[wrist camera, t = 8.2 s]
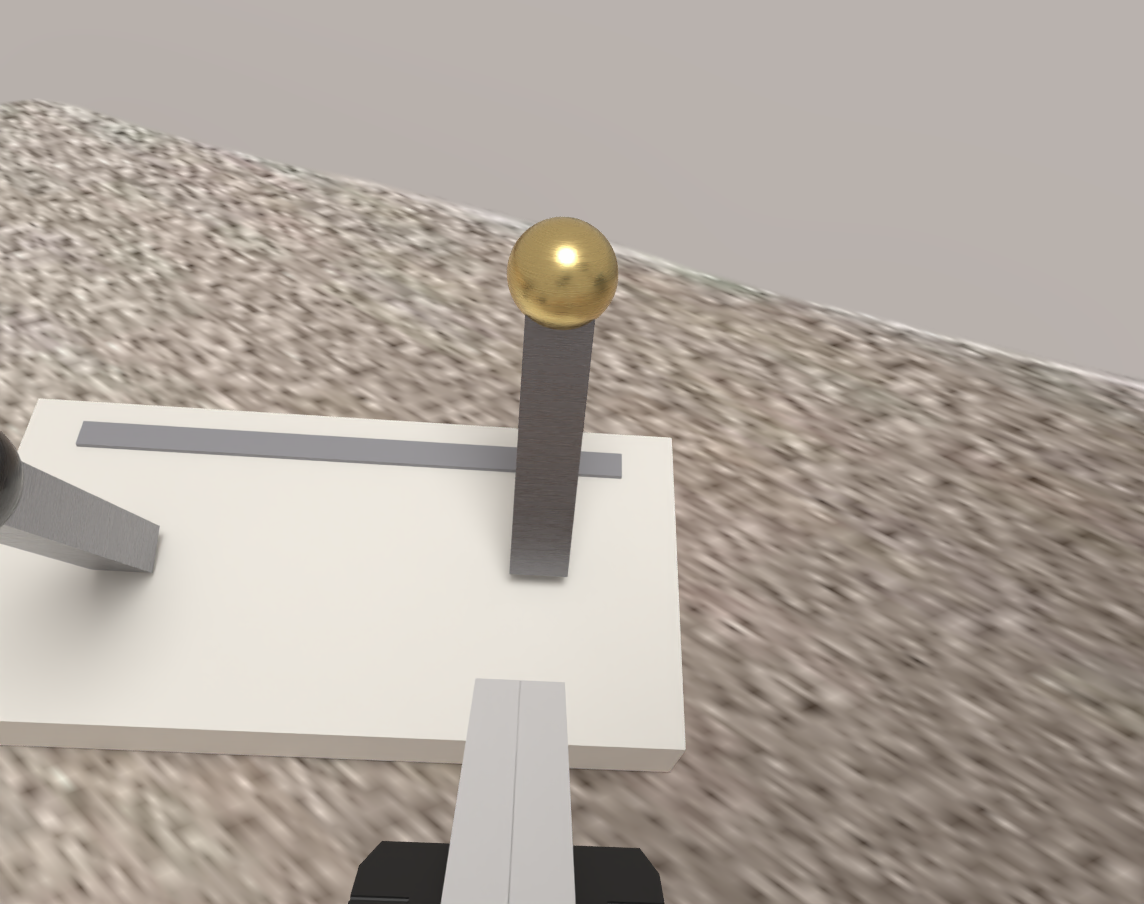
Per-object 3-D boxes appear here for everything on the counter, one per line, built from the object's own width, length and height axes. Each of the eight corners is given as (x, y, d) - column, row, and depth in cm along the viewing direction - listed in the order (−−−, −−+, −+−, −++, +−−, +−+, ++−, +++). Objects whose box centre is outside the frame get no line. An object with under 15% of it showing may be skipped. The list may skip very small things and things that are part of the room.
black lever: (167, 597, 31) (-39, 542, 19) (69, 592, 31) (-200, 534, 19) (181, 503, 32) (-8, 396, 20) (85, 498, 32) (-163, 387, 20)
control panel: (669, 772, 32) (686, 748, 30) (-43, 743, 31) (-92, 715, 28) (659, 476, 39) (672, 435, 36) (68, 441, 37) (36, 395, 35)
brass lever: (585, 593, 31) (628, 245, 25) (490, 588, 31) (507, 236, 24) (582, 534, 34) (621, 205, 27) (495, 529, 34) (511, 197, 27)
